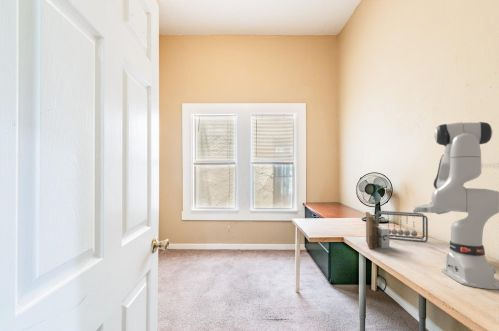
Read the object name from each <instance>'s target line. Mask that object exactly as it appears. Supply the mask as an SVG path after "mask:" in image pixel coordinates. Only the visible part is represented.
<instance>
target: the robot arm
mask: <svg viewBox="0 0 499 331" xmlns="http://www.w3.org/2000/svg"><path fill="white" fill-rule="evenodd" d="M435 128H436V129H435V130H434V133H433V137H434V139H435V142H436V143H437V144H438V145H441V146H443V147H444V151H443V152H444V154H442V155H441V157H440V160H439V162H438V163H439V165H438V169H437V173H436V177H435V179H434V181H433V187H434V188H435V189H434V191H433V192H432V194H431V199H430V200H431V202H429V204H421V205H416V206H414V209H412V213H422V214H424V213H425V214H426V213H429V214H431V213H432V214H437V215H442V214H448V213H451V212H456V213H457V212H458V213H466V214H467V216H465V217H463V218H460V219H457V220H456V221H454V222H452V223H451V225H450V240H449V251H448V252H447V253H446V254H445V268H442V269H441V272H442V273H443V274H445V275H446V276H448V277H450V278H451V279H453V280H454V281H456V282H457V283H459V284H461V285H464V286H467V287H474V288H478V289H487V290H499V281H498V280H497V278H495V274H497V269H496V267H492V266H491V262H490V261H488V259H487V257H486V256H485V255H486V252H485V246H484V245H483V233H484V227H485V226H486V223H487V222H488V221H489V219H491V218H493V216H495V215H497V214H499V191H498V190H494V189H488V188H475V187H474V188H472V187H471V188H469V187H467V188H466V187H465V186H464V185H465V184H466V183H467V182H470V181H474V180H476V179H478V178H479V177H480V176H481V175H482V150H481V145H483V144H485V145H486V144H487V143H488V142H490V140H491V139H492V136H493V129H492V126H491V124H489V123H488V122H484V121H483V122H482V121H479V122H454V123H452V122H451V123H445V124H440V125H438V126H437V127H435Z"/></svg>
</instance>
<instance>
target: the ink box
mask: <svg viewBox="0 0 499 331" xmlns="http://www.w3.org/2000/svg"><path fill="white" fill-rule="evenodd" d="M389 229H390V227H389V228H388V226H387V227H386V226H384V225H379V226H377V247H379V248H380V249H390V239H389V237H390V236H389V235H390V234H389Z"/></svg>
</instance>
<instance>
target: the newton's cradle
mask: <svg viewBox="0 0 499 331" xmlns="http://www.w3.org/2000/svg"><path fill="white" fill-rule="evenodd" d="M380 215H384V216H385V215H386V216H387V228H389V240H396V241H405V242H406V241H407V242H418V243H427V242H428V241H429V231H428V230H429V228H428V225H429V223H428V222H429V219H428V217H427V216H426V215H424V213H423V212H418V213H414V212H406V211H390V210H388V211H387V210H378V211H377V212H376V217H375V218H376V221H377V226H380ZM390 216H399V217H402V216H403V217H404V216H405V217H406V220H405V221H406V223H408V221H409V220H408V218H409V217H420V218H422V236H418V232H417V231H416V230H411V231H409V230H408V229H406V230H402V220H400V224H399V225H400V226H399V228H400V229H399V230H397V229H395V228H396V225H395V224H396V223H393V226H394V227H393V229H392V230H391V229H390V227H389V222H390V219H389V217H390ZM412 223H413V224H412V225H413V227H415V222H412ZM410 235H411V236H410ZM393 236H395V237H393ZM424 238H425V239H424ZM423 239H424V240H423Z"/></svg>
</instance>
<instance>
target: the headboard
mask: <svg viewBox="0 0 499 331" xmlns="http://www.w3.org/2000/svg"><path fill="white" fill-rule="evenodd" d="M365 242H366V244H367V247H368V249H369V250H373V248H374V249H377V247H378V245H377V221H376V217H375V216H374V215H373V214H371V213H370V212H368V211H365Z"/></svg>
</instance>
